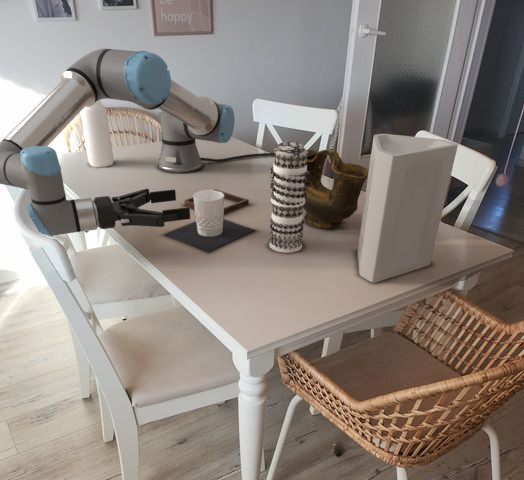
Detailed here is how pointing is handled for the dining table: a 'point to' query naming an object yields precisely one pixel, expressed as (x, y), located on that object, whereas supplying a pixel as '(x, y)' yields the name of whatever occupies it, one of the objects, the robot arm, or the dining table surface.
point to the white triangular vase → (403, 204)
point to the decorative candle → (288, 196)
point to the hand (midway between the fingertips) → (182, 203)
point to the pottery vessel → (331, 201)
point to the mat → (209, 244)
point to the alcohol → (97, 135)
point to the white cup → (209, 212)
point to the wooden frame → (240, 200)
